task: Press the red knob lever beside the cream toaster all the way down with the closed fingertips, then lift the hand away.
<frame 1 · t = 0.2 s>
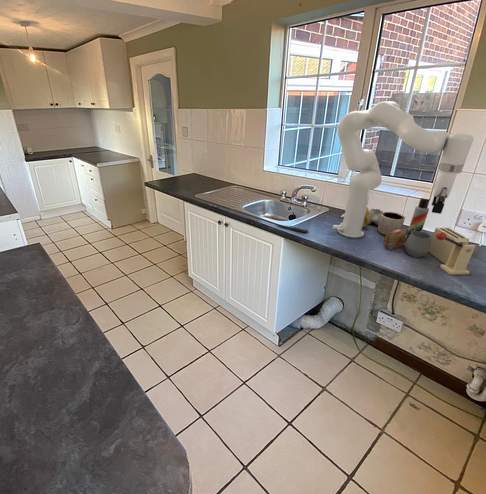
hand: (436, 209, 126), 23 cm above the countertop, tool pointing down, fingers open, 9 cm apart
brown piece: (393, 246, 147), on the countertop
knife: (292, 227, 166), on the countertop
cup: (414, 254, 140), on the countertop
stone: (359, 212, 169), point 6 cm above the countertop
red knob lever: (452, 241, 121), point 14 cm above the countertop, hinge at 25.0°
spray bottle: (413, 235, 158), on the countertop
kitchen knife: (348, 213, 184), on the countertop
lever bracket: (453, 270, 127), on the countertop
fossil: (365, 220, 182), on the countertop
planter: (388, 232, 161), on the countertop
toaster: (442, 257, 137), on the countertop
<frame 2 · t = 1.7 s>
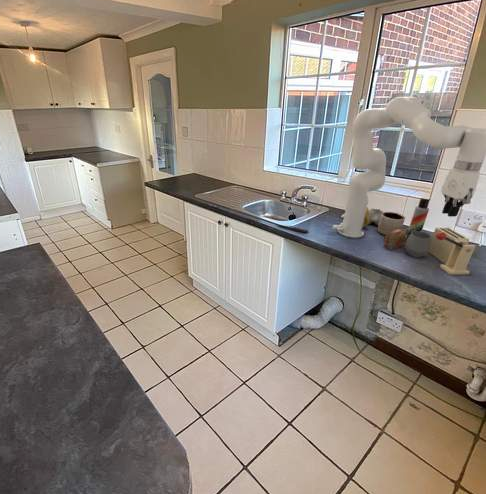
hand: (449, 214, 116), 25 cm above the countertop, tool pointing down, fingers closed
nothing on the countertop moved.
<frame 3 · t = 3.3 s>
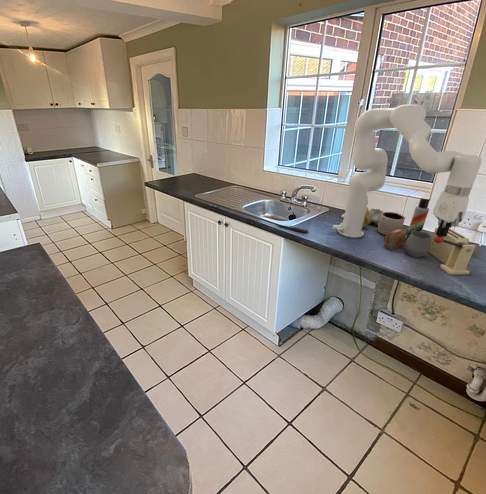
hand: (440, 235, 119), 16 cm above the countertop, tool pointing down, fingers closed
red knob lever: (451, 243, 121), point 13 cm above the countertop, hinge at 17.8°
everything else where it was.
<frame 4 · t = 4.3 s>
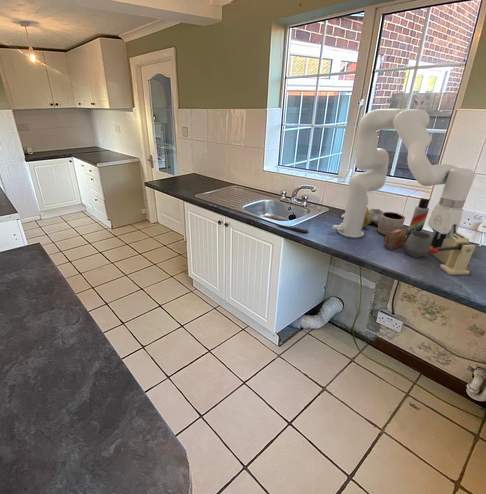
hand: (435, 246, 122), 12 cm above the countertop, tool pointing down, fingers closed
red knob lever: (448, 248, 122), point 10 cm above the countertop, hinge at -5.2°, touching gripper
everything else where it was.
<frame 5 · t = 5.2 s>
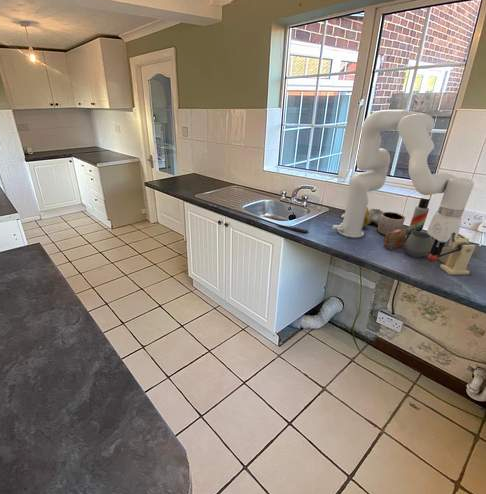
hand: (434, 254, 123), 8 cm above the countertop, tool pointing down, fingers closed
red knob lever: (447, 252, 123), point 9 cm above the countertop, hinge at -22.4°, touching gripper
everything else where it was.
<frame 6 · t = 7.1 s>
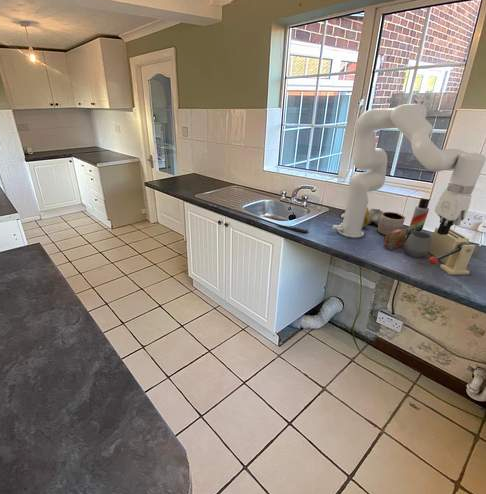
hand: (442, 233, 120), 17 cm above the countertop, tool pointing down, fingers closed
red knob lever: (448, 254, 123), point 8 cm above the countertop, hinge at -30.4°
everything else where it was.
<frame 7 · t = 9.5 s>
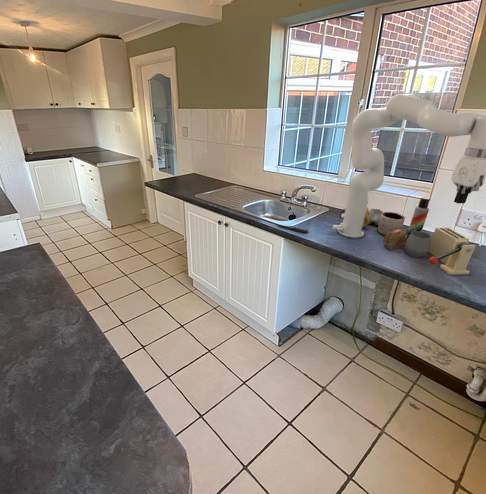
hand: (459, 202, 116), 29 cm above the countertop, tool pointing down, fingers closed
at the end: red knob lever at -30° (first picture: +25°) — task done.
